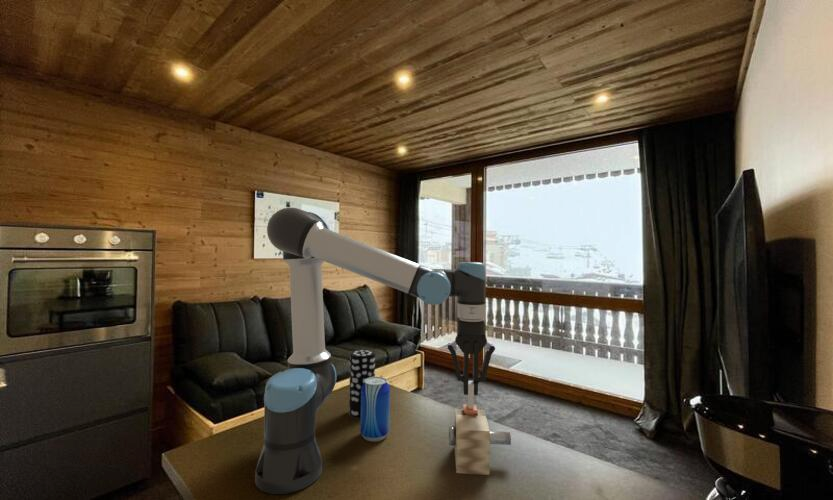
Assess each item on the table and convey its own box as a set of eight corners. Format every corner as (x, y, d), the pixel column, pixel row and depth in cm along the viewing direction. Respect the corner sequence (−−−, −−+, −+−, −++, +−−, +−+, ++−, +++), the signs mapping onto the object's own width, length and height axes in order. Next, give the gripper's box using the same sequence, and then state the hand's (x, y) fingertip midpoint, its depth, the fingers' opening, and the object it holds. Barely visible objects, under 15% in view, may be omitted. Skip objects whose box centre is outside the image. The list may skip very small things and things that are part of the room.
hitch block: (456, 473, 87) (456, 429, 87) (454, 446, 99) (454, 408, 99) (489, 474, 87) (489, 431, 87) (483, 448, 99) (484, 409, 99)
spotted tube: (347, 409, 122) (348, 350, 122) (371, 406, 124) (372, 348, 125) (350, 420, 114) (351, 357, 114) (376, 417, 116) (377, 355, 117)
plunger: (463, 439, 95) (463, 409, 95) (462, 432, 99) (463, 404, 99) (477, 440, 95) (477, 410, 95) (475, 433, 98) (476, 404, 98)
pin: (449, 449, 91) (449, 430, 91) (448, 439, 96) (448, 422, 96) (511, 452, 90) (511, 433, 90) (508, 442, 95) (508, 425, 95)
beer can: (384, 444, 100) (385, 386, 100) (356, 441, 101) (356, 384, 102) (392, 430, 108) (393, 376, 108) (366, 427, 110) (366, 374, 110)
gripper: (447, 321, 94) (446, 411, 94) (497, 322, 93) (497, 413, 93) (446, 316, 101) (446, 399, 101) (493, 317, 100) (492, 401, 100)
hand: (470, 406), depth 97 cm, fingers closed
